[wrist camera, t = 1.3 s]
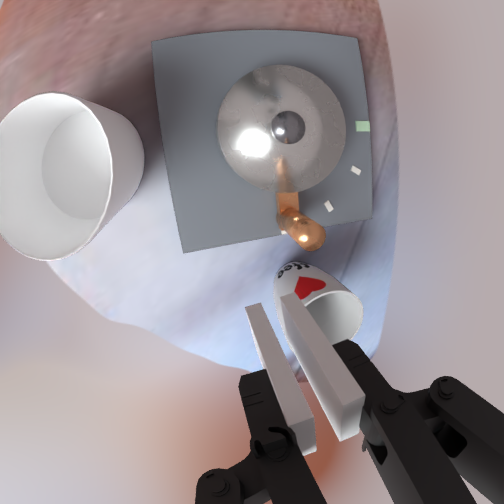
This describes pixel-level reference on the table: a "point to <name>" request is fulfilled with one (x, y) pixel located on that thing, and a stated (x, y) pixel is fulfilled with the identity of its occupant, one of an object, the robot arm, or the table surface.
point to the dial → (283, 139)
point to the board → (205, 142)
